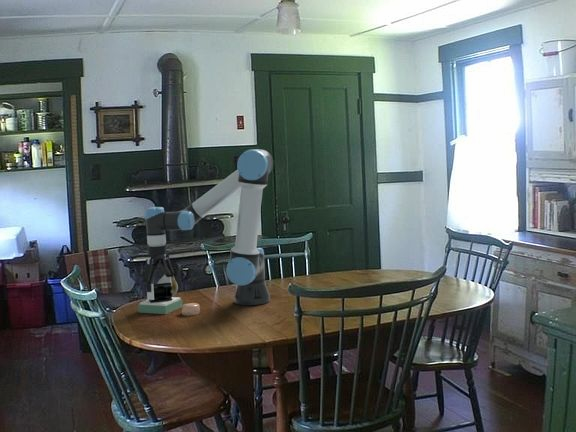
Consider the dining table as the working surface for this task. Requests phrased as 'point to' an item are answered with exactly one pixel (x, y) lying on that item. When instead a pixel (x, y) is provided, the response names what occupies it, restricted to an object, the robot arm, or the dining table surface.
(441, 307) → the dining table surface
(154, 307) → the stand
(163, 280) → the fruit
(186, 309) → the pinkish tan egg
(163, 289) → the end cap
